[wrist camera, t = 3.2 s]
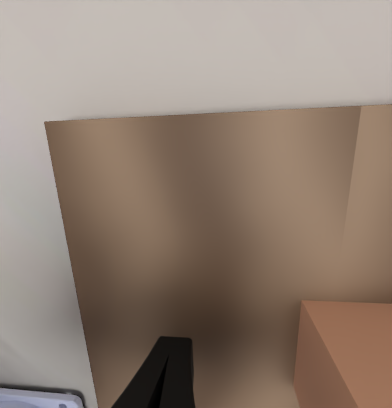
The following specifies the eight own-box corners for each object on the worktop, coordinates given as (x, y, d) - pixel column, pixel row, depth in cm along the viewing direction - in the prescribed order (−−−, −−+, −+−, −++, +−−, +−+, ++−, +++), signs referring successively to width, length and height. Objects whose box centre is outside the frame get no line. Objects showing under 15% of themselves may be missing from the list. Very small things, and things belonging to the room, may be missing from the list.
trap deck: (120, 435, 14) (109, 467, 13) (70, 125, 10) (44, 121, 8) (576, 485, 12) (625, 533, 10) (808, 90, 7) (961, 76, 6)
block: (293, 385, 10) (338, 531, 6) (301, 300, 9) (361, 414, 5) (401, 394, 10) (521, 558, 6) (424, 305, 9) (591, 435, 5)
